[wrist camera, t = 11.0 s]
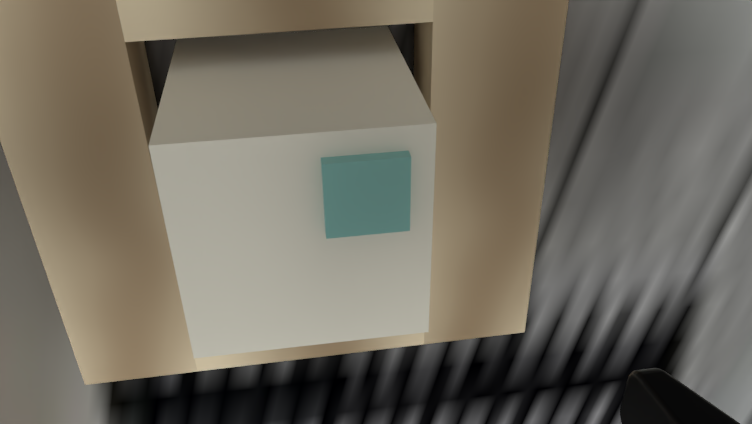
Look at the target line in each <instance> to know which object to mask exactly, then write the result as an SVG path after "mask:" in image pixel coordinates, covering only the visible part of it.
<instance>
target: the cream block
mask: <svg viewBox="0 0 752 424" xmlns="http://www.w3.org/2000/svg"><path fill="white" fill-rule="evenodd" d="M436 128H437V123H436V121H435V119H434V117H433V115H432V113H431V111H430V109H429V107H428V105H427V103H426V101H425V99H424V97H423V95H422V93H421V91H420V89H419V87H418V85H417V83H416V81H415V80H414V78H413V76H412V74H411V72H410V70H409V68H408V66H407V64H406V62H405V60H404V58H403V56H402V54H401V52H400V50H399V48H398V46H397V44H396V42H395V40H394V38H393V36H392V34H391V32H390V30H389V28H388V26H381V27H364V28H347V29H331V30H314V31H298V32H281V33H265V34H248V35H232V36H215V37H198V38H182V39H177V41H176V44H175V48H174V52H173V56H172V59H171V63H170V67H169V70H168V74H167V78H166V82H165V85H164V89H163V93H162V97H161V100H160V104H159V108H158V112H157V115H156V119H155V123H154V127H153V130H152V134H151V138H150V142H149V145H148V146H149V151H150V155H151V160H152V165H153V169H154V174H155V179H156V183H157V188H158V193H159V198H160V202H161V207H162V212H163V216H164V221H165V226H166V230H167V235H168V240H169V244H170V249H171V254H172V258H173V263H174V268H175V272H176V277H177V282H178V286H179V291H180V296H181V301H182V305H183V310H184V315H185V319H186V324H187V329H188V333H189V338H190V343H191V347H192V352H193V357H194V358H202V357H211V356H220V355H229V354H238V353H247V352H256V351H265V350H273V349H282V348H291V347H300V346H309V345H318V344H327V343H336V342H344V341H353V340H362V339H371V338H380V337H389V336H398V335H407V334H416V333H424V332H428V331H429V306H430V280H431V255H432V230H433V204H434V179H435V153H436Z"/></svg>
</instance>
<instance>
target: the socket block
mask: <svg viewBox="0 0 752 424" xmlns="http://www.w3.org/2000/svg"><path fill="white" fill-rule="evenodd" d="M568 3H569V0H0V142H1V145H2V148H3V151H4V153H5V156H6V159H7V162H8V165H9V168H10V171H11V174H12V176H13V179H14V182H15V185H16V188H17V191H18V194H19V196H20V199H21V202H22V205H23V208H24V211H25V214H26V217H27V219H28V222H29V225H30V228H31V231H32V234H33V237H34V239H35V242H36V245H37V248H38V251H39V254H40V257H41V260H42V262H43V265H44V268H45V271H46V274H47V277H48V280H49V283H50V285H51V288H52V291H53V294H54V297H55V300H56V303H57V305H58V308H59V311H60V314H61V317H62V320H63V323H64V326H65V328H66V331H67V334H68V337H69V340H70V343H71V346H72V348H73V351H74V354H75V357H76V360H77V363H78V366H79V369H80V371H81V374H82V377H83V380H84V383H85V385H88V384H96V383H105V382H113V381H121V380H130V379H138V378H146V377H155V376H163V375H172V374H180V373H188V372H197V371H205V370H213V369H222V368H230V367H238V366H247V365H255V364H263V363H272V362H280V361H289V360H297V359H305V358H314V357H322V356H330V355H339V354H347V353H355V352H364V351H372V350H380V349H389V348H397V347H405V346H414V345H422V344H431V343H439V342H447V341H456V340H464V339H472V338H481V337H489V336H497V335H506V334H514V333H522V332H525V326H526V318H527V311H528V303H529V295H530V288H531V280H532V273H533V265H534V258H535V250H536V243H537V235H538V228H539V220H540V213H541V205H542V198H543V190H544V183H545V175H546V168H547V160H548V153H549V145H550V138H551V130H552V123H553V115H554V108H555V100H556V93H557V85H558V78H559V70H560V63H561V55H562V48H563V40H564V33H565V25H566V18H567V10H568ZM410 23H414V80H415V81H416V83H417V85H418V87H419V89H420V91H421V93H422V95H423V97H424V99H425V101H426V103H427V105H428V107H429V109H430V111H431V113H432V115H433V117H434V119H435V121H436V123H437V128H436V153H435V179H434V204H433V230H432V255H431V280H430V306H429V331H428V332H424V333H416V334H407V335H398V336H389V337H380V338H371V339H362V340H353V341H344V342H336V343H327V344H318V345H309V346H300V347H291V348H282V349H273V350H265V351H256V352H247V353H238V354H229V355H220V356H211V357H202V358H194V357H193V352H192V347H191V343H190V338H189V333H188V329H187V324H186V319H185V315H184V310H183V305H182V301H181V296H180V291H179V286H178V282H177V277H176V272H175V268H174V263H173V258H172V254H171V249H170V244H169V240H168V235H167V230H166V226H165V221H164V216H163V212H162V207H161V202H160V198H159V193H158V188H157V183H156V179H155V174H154V169H153V165H152V160H151V155H150V151H149V146H148V145H149V142H150V138H151V134H152V130H153V127H154V123H155V119H156V115H157V112H158V107H157V102H156V98H155V93H154V88H153V83H152V78H151V73H150V68H149V63H148V58H147V54H146V49H145V44H144V41H151V40H166V39H181V38H197V37H212V36H227V35H242V34H258V33H273V32H288V31H303V30H319V29H334V28H349V27H364V26H380V25H395V24H410Z"/></svg>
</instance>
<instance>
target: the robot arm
mask: <svg viewBox="0 0 752 424" xmlns="http://www.w3.org/2000/svg"><path fill="white" fill-rule="evenodd" d="M620 416H621V422H622V424H740V423H738V422H737V421H735V420H734V419H733V418H731V417H730V416H728V415H727V414H725V413H724V412H723V411H721V410H720V409H718V408H717V407H715V406H714V405H712V404H711V403H710V402H708V401H707V400H705V399H704V398H702V397H701V396H699V395H698V394H697V393H695V392H694V391H692V390H691V389H689V388H688V387H687V386H685V385H684V384H682V383H681V382H679V381H678V380H676V379H675V378H674V377H672V376H671V375H669V374H668V373H666V372H665V371H663V370H661V369H658V368H651V369H643V370H636V371H633V372H632V373H631V374H630V375H629V377H628V381H627V384H626V388H625V392H624V396H623V400H622V404H621V409H620Z"/></svg>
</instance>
